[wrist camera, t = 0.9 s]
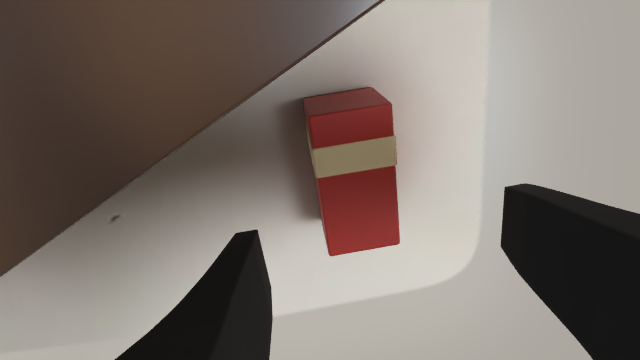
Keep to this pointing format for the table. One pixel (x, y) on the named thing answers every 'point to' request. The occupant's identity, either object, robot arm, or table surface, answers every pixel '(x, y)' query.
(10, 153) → the cabinet
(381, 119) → the red rectangular block
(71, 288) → the table surface
